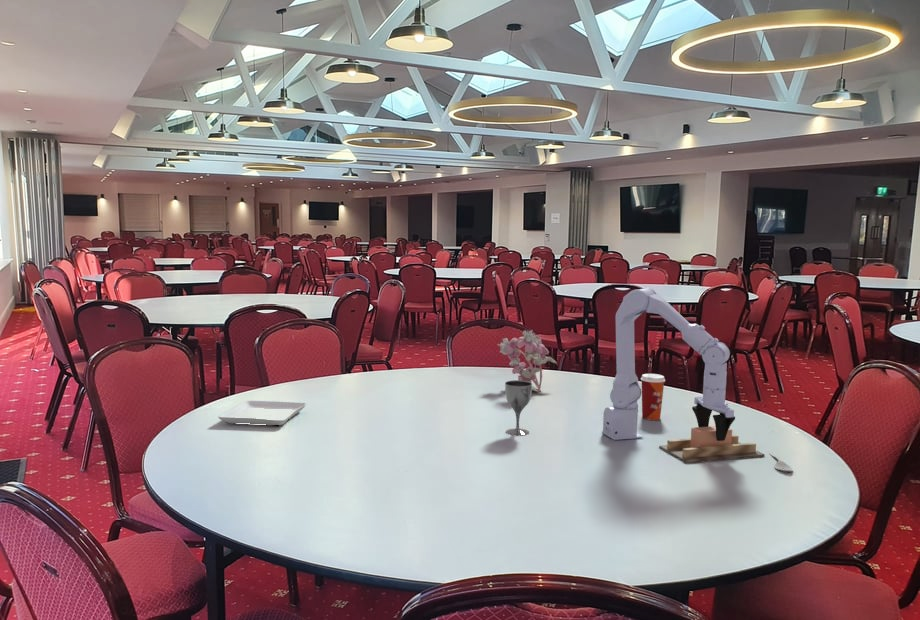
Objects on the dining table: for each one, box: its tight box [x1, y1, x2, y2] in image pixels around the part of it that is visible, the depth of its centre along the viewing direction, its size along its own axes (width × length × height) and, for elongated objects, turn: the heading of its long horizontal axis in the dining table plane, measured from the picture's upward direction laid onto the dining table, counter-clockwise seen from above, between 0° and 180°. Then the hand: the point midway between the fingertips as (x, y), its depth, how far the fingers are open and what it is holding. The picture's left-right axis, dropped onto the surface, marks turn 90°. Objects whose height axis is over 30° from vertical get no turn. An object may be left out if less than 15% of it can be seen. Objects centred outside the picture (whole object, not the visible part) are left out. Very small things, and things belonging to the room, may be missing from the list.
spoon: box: [768, 451, 793, 473], centre depth 172 cm, size 4×21×2 cm, turn 166°
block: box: [690, 425, 733, 448], centre depth 178 cm, size 10×4×6 cm, turn 104°
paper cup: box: [640, 373, 666, 421], centre depth 211 cm, size 8×8×14 cm
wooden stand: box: [659, 434, 766, 464], centre depth 179 cm, size 24×13×3 cm, turn 105°
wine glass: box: [504, 380, 533, 437], centre depth 194 cm, size 8×8×15 cm
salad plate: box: [218, 400, 307, 426], centre depth 207 cm, size 21×21×3 cm
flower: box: [497, 329, 558, 394], centre depth 250 cm, size 20×22×25 cm
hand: (711, 436), depth 178 cm, fingers open, 7 cm apart
